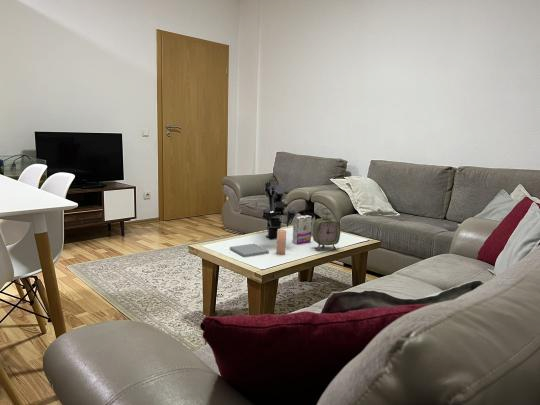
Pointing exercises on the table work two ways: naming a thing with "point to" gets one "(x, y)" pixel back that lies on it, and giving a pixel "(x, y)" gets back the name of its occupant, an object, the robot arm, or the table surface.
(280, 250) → the terracotta canister
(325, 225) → the tabletop clock
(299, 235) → the candy bar box
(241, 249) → the slate board
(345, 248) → the table surface
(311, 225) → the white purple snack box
